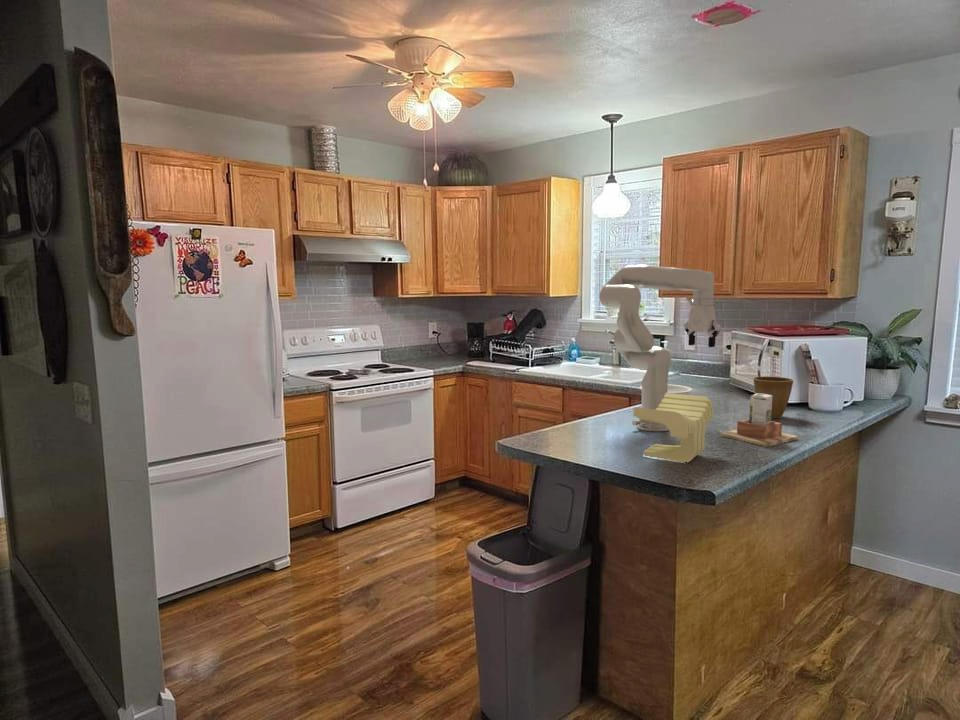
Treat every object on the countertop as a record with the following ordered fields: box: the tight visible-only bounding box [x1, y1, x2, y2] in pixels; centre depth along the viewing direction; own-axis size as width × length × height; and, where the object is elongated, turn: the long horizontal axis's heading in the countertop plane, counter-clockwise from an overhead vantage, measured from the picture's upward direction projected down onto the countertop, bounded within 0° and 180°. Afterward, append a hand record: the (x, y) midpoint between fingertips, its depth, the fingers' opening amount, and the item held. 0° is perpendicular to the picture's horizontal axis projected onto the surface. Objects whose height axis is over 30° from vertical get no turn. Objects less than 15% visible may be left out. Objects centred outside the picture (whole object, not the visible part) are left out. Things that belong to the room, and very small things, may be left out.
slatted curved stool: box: [633, 393, 714, 464], centre depth 194 cm, size 30×16×18 cm, turn 145°
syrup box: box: [748, 393, 772, 426], centre depth 216 cm, size 6×6×14 cm
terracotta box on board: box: [720, 418, 799, 448], centre depth 217 cm, size 18×18×6 cm
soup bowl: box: [638, 383, 693, 395], centre depth 286 cm, size 24×24×7 cm
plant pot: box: [752, 376, 794, 419], centre depth 251 cm, size 15×15×16 cm
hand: (701, 346), depth 243 cm, fingers open, 9 cm apart
